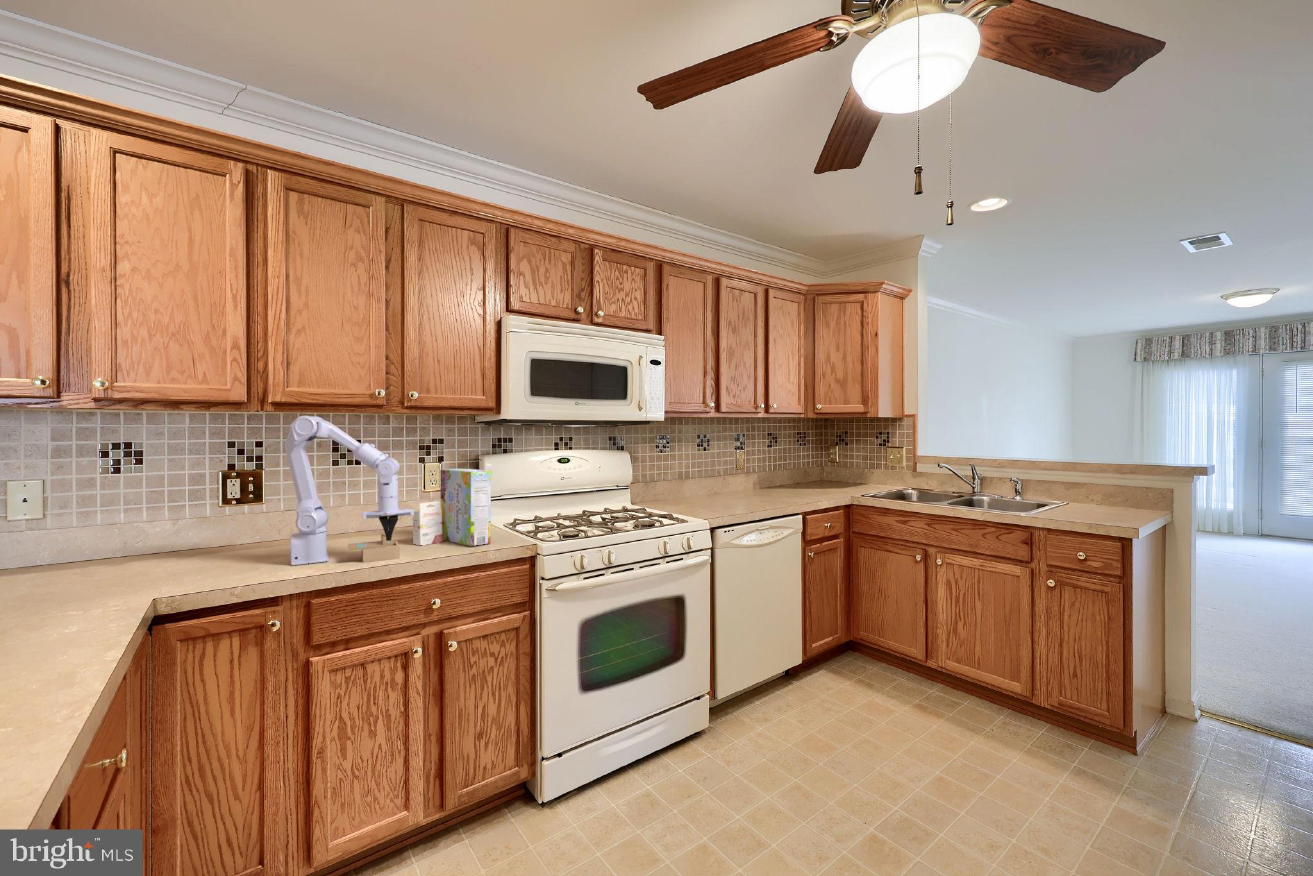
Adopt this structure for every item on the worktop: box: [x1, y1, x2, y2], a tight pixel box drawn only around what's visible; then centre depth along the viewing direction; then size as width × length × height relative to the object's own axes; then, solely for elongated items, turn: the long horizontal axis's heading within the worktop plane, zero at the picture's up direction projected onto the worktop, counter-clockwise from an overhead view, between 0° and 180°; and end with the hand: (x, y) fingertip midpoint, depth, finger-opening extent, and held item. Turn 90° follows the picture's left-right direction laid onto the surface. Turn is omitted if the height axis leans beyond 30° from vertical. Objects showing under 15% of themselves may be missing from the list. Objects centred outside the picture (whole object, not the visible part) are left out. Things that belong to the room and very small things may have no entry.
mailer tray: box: [361, 540, 401, 563], centre depth 174 cm, size 10×8×4 cm
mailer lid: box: [347, 533, 387, 551], centre depth 172 cm, size 10×8×3 cm
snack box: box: [439, 468, 492, 547], centre depth 199 cm, size 22×9×26 cm, turn 49°
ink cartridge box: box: [412, 500, 443, 546], centre depth 196 cm, size 9×5×15 cm, turn 143°
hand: (388, 540), depth 175 cm, fingers closed
